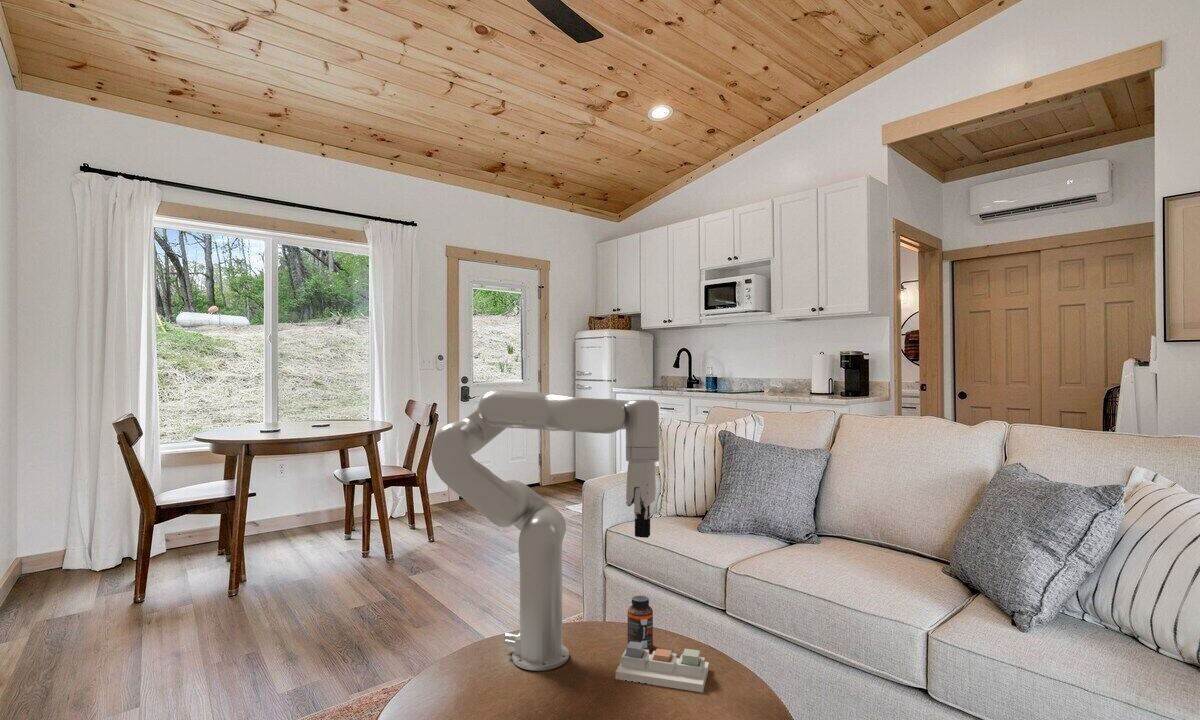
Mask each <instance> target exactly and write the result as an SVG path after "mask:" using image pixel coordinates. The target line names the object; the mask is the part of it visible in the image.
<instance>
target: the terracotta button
mask: <svg viewBox="0 0 1200 720" xmlns="http://www.w3.org/2000/svg"><path fill="white" fill-rule="evenodd" d="M654 651H655V654H654V660H656V661H663V662H671V659H672V653H673V652H672V651H673V650H671V649H666V648H665V649H663V648H656V650H654Z"/></svg>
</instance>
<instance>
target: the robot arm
mask: <svg viewBox="0 0 1200 720" xmlns="http://www.w3.org/2000/svg"><path fill="white" fill-rule="evenodd" d="M659 406H660V405H659V404H658V402H657V401H656V400H654V399H630V400H621V399H614V398H593V397H592V398H588V397H577V396H576V397H574V396H565V395H560V394H558V393H557V394H556V393H552V392H539V391H538V392H535V391H516V390H504V389H503V390H502V389H501V390H499V389H495V390H490V391H488V392H486V393H485V394H483V395H482V397H481V398H480V399H479V402H478V406H477V408H475V410H473V411H472V412H471V413H469V414H468V415H467V416H466V417H465V418H463V419H462V420H460V421H453V422H450V423H448V424H445V425H444V426H442V427H441V428H439V430H438V431H437V433H436V435H435V436H434V438H433V441H432V445H431V452H430V453H431V455H430V456H431V462H432V466H433V468H434V471H435V473H436V474H437V476H438V478H439V479H440V480H441V481H442V482H443V483H444V484H445V485H446V486H447V487H448V488H449V489H451V490H452V491H453V492H454V493H456V494H457V495H458V496H460V497H461V498H462V499H463V500H465V501H466V503H468V505H471V506H472V507H473V509H475V510H476V511H478V512H479V513H480V514H481V515H482V516H484V517H485V518H486V519H487V520H488V521H489V522H491V523H492V524H493V525H495V526H497V527H500V528H510V527H512V526H514V527H515V528H516V529H518V530H519V531H520V532H519V536H518V557H519V558H518V559H519V633H518V634H515V633H511V632H510V633H509V632H505V634H504V637H503V641H504V643H503V644H504V647H510V648H511V647H513V649H514V650H513V652H512V654H511V656H512V659H511V660H512V662H513V664H514V665H515V666H517V667H519V668H521V669H523V670H527V671H536V672H537V671H539V672H541V671H550V670H555V669H557V668H559V667H561V666H563V665H564V664H565V663H567V662H568V660H569V657H570V656H569V655H570V652H569V648H568V647H566V646H565V645H563V541H564V539H565V534H566V531H567V523H566V519H565V518H564V515H563V514H562V513H561V512H560V510H558V509H557V508H556V507H555V506H554V505H552V504H551V503H550V502H548V501H547V500H546V499H545V498H543V497H542V496H541V495H540V494H538V492H536V491H534V490H533V489H532V488H531V487H530V486H528V485H526V484H525V483H523V482H522V481H519V480H515V479H508V480H503V479H502V478H500V477H499V476H498V475H496V474H495V473H493V472H492V471H491V470H490V469H489V468H488V467H487V466H485V465H483V464H482V463H480V462H478V461H477V460H476V459H475V458H474V457H473V456H472V455H474V454H476V453H477V452H479V451H480V450H482V449H483V448H484V447H485V446H487V445H488V444H489V443H490V442H491V441H493V439H495V438H496V437H497V436H499V435H500V434H502V432H504V431H505V430H506V429H523V430H539V431H550V432H559V431H560V432H574V433H575V432H576V433H587V434H588V433H589V434H591V433H592V434H605V435H606V434H608V435H609V434H613V433H616V432H618V431H619V430H625V461H626V462H627V463H628V464H627V471H626V487H625V488H626V492H625V505H626V506H627V507H631V506H632V505H634V506H633V507H634V510H633V512H634V536H635V538H646V539H647V538H649V537H650V536H651V517H650V516H651V504H652V503H653V502H654V501H656V500H655V499H656V462H657V463H658V462H659V461H660V424H659V423H660V416H659V415H660V409H659V408H660V407H659Z"/></svg>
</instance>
